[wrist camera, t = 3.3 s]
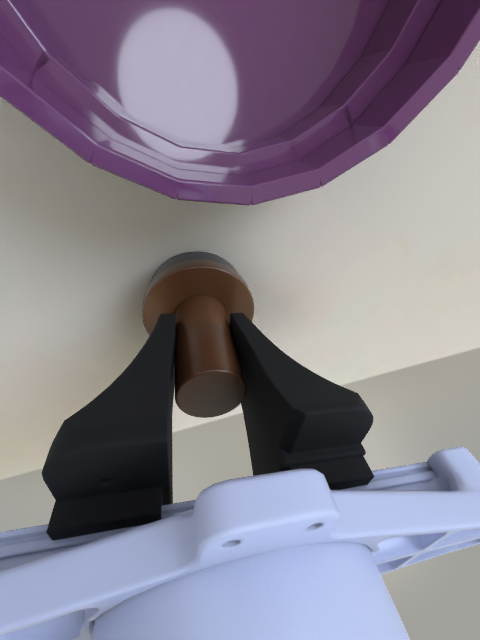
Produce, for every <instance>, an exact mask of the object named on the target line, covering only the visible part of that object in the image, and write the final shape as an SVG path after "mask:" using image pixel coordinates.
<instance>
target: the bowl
mask: <svg viewBox="0 0 480 640" xmlns="http://www.w3.org/2000/svg"><path fill="white" fill-rule="evenodd" d="M479 41H480V0H0V97H2V98H3V99H4V100H6V101H7V102H8V103H10V104H11V105H12V106H14V107H15V108H16V109H18V110H19V111H20V112H21V113H23V114H24V115H25V116H27V117H28V118H29V119H31V120H32V121H33V122H35V123H36V124H37V125H39V126H40V127H41V128H43V129H44V130H45V131H47V132H48V133H49V134H51V135H52V136H53V137H55V138H56V139H57V140H59V141H60V142H61V143H63V144H64V145H65V146H67V147H68V148H69V149H71V150H72V151H73V152H74V153H76V154H77V155H78V156H80V157H81V158H82V159H84V160H85V161H86V162H88V163H91V164H92V165H93V166H95V167H98V168H100V169H103V170H105V171H107V172H110V173H112V174H115V175H117V176H120V177H122V178H124V179H127V180H129V181H132V182H134V183H137V184H139V185H141V186H144V187H146V188H149V189H151V190H153V191H156V192H158V193H161V194H163V195H166V196H168V197H170V198H173V199H178V200H185V201H198V202H211V203H224V204H237V205H255V204H259V203H263V202H267V201H271V200H274V199H278V198H282V197H286V196H290V195H293V194H297V193H301V192H305V191H309V190H312V189H316V188H319V187H320V186H324V185H325V184H327V183H328V182H330V181H332V180H333V179H335V178H336V177H338V176H339V175H341V174H343V173H344V172H346V171H347V170H349V169H351V168H352V167H354V166H355V165H357V164H359V163H360V162H362V161H363V160H365V159H367V158H368V157H370V156H371V155H373V154H375V153H376V152H378V151H379V150H381V149H382V148H384V147H386V146H387V145H388V144H390V143H391V142H392V141H393V140H394V139H395V138H396V137H397V136H398V135H399V134H400V133H401V132H402V131H403V130H404V129H405V128H406V127H407V125H408V124H409V123H410V122H411V121H412V120H413V119H414V118H415V117H416V116H417V115H418V114H419V113H420V112H421V111H422V110H423V109H424V108H425V107H426V106H427V105H428V104H429V103H430V102H431V101H432V100H433V99H434V97H435V96H436V95H437V94H438V93H439V92H440V91H441V90H442V89H443V88H444V87H445V86H446V85H447V84H448V83H449V82H450V81H451V80H452V79H453V78H454V77H455V76H456V75H457V74H458V72H459V70H460V69H461V68H462V67H463V65H464V64H465V62H466V60H467V59H468V57H469V56H470V54H471V53H472V51H473V50H474V48H475V47H476V45H477V44H478V42H479Z"/></svg>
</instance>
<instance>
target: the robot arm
mask: <svg viewBox="0 0 480 640" xmlns="http://www.w3.org/2000/svg"><path fill="white" fill-rule="evenodd" d="M229 325H230V329H231V333H232V336H233V340H234V344H235V347H236V351H237V354H238V358H239V362H240V365H241V369H242V373H243V376H244V380H245V384H246V394H245V397H244V399H243V401H242V402H241V405H242V409H243V414H244V420H245V425H246V431H247V436H248V443H249V448H250V456H251V462H252V469H253V476H249V477H242V478H236V479H230V480H226V481H222V482H219V483H215V484H213V485H211V486H210V487H208V488H206V489H204V490H203V491H202V492H201V493H200V494H199V496H198V497H197V499H196V500H193V501H187V502H181V503H174V504H173V496H172V495H173V492H172V407H173V396H174V386H175V341H176V331H175V314H161V315H160V316H159V317H158V320H157V323H156V325H155V327H154V329H153V331H152V333H151V335H150V336H149V338H148V340H147V341H146V343H145V345H144V346H143V347H142V349H141V350H140V352H139V353H138V355H137V356H136V357H135V359H134V360H133V361H132V362H131V364H130V365H129V366H128V367H127V368H126V369H125V371H124V372H123V373H122V374H121V375H120V376H119V377H118V378H117V379H116V380H115V381H114V382H113V383H112V384H111V385H110V386H109V387H108V388H107V389H105V390H104V391H103V392H102V393H101V394H100V395H98V396H97V397H96V398H95V399H94V400H93V401H91V402H90V403H89V404H88V405H86V406H85V407H83V408H82V409H81V410H79V411H78V412H76V413H75V414H74V415H72V416H71V417H69V418H68V419H66V420H65V421H64V422H63V424H62V426H61V428H60V429H59V431H58V433H57V435H56V437H55V439H54V441H53V443H52V445H51V447H50V450H49V453H48V456H47V459H46V462H45V465H44V467H43V471H42V476H43V480H44V481H45V483H46V485H47V486H48V488H49V490H50V491H51V493H52V495H53V496H54V498H55V499H56V502H55V505H54V508H53V512H52V515H51V518H50V522H49V524H47V525H41V526H35V527H29V528H23V529H17V530H10V531H5V532H0V640H410V638H409V636H408V634H407V631H406V629H405V627H404V625H403V623H402V621H401V619H400V616H399V614H398V612H397V609H396V607H395V605H394V603H393V601H392V598H391V597H390V594H389V592H388V590H387V588H386V586H385V584H384V581H383V579H382V577H381V575H382V574H385V573H387V572H391V571H394V570H397V569H400V568H402V567H406V566H409V565H412V564H415V563H418V562H421V561H424V560H427V559H430V558H433V557H437V556H440V555H443V554H446V553H450V552H453V551H456V550H459V549H464V548H467V547H471V546H474V545H478V544H480V464H479V462H478V461H477V460H476V459H475V458H474V457H473V455H472V454H470V452H469V451H468V450H467V449H466V448H465V447H462V446H461V447H456V448H449V449H443V450H440V451H437V452H435V453H434V454H433V455H432V456H431V457H430V458H429V459H428V461H427V462H423V463H417V464H410V465H404V466H398V467H392V468H386V469H380V470H374V471H371V469H370V468H369V466H368V464H367V462H366V460H365V459H364V457H363V455H365V450H364V448H363V446H362V444H361V442H362V440H363V439H364V437H365V436H366V434H367V433H368V431H369V430H370V428H371V426H372V423H373V415H372V413H371V412H370V410H369V409H368V407H367V406H366V404H365V403H364V401H363V400H362V398H361V397H360V396H359V394H358V393H355V392H353V391H351V390H348V389H346V388H344V387H341V386H339V385H337V384H335V383H332V382H330V381H328V380H326V379H324V378H322V377H321V376H319V375H317V374H315V373H313V372H312V371H310V370H308V369H307V368H305V367H303V366H302V365H300V364H299V363H297V362H296V361H294V360H293V359H292V358H290V357H289V356H288V355H286V354H285V353H284V352H282V351H281V350H280V349H279V348H278V347H277V346H275V345H274V344H273V343H272V342H271V341H270V340H269V339H268V338H267V337H266V336H265V335H264V334H263V333H262V332H261V331H260V330H259V329H258V328H257V327H256V326H255V325H254V324H253V323H252V322H251V321H250V320H249V319H248V318H247V316H246V315H245V314H244V313H231V314H230V323H229Z"/></svg>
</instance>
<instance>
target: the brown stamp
mask: <svg viewBox="0 0 480 640" xmlns="http://www.w3.org/2000/svg"><path fill="white" fill-rule="evenodd" d="M231 313H244V314H245V315H246V316H247V318H248V319H249V320H250V321H251V322H252V319H253V315H254V303H253V298H252V295H251V293H250V291H249V288H248V286H247V284H246V283H245V281H244V280H243V278H242V277H241V276H240V275H239V274H238V273H237V271H236V270H235V269H234V267H233V266H232V265H231V264H230V263H228V262H227V261H226V260H224V259H222V258H221V257H219V256H216V255H214V254H210V253H205V252H189V253H184V254H180V255H178V256H175V257H173V258H171V259H169V260H168V261H167V262H165V263H164V264H163V265H162V266H161V267H160V268H159V269H158V270H157V271H156V273H155V274H154V276H153V278H152V281H151V284H150V285H149V287H148V289H147V291H146V294H145V297H144V302H143V309H142V317H143V323H144V326H145V328H146V330H147V332H148V334H149V335H151V333H152V331H153V329H154V327H155V325H156V323H157V320H158V317H159V316H160V315H161V314H175V331H176V341H175V401H176V403H177V405H178V407H179V408H180V409H181V410H182V411H183V412H185V413H186V414H188V415H191V416H195V417H204V418H206V417H215V416H219V415H223V414H225V413H227V412H230V411H231V410H233V409H234V408H236V407H237V406H238V405H239V404H240V403H241V402H242V401H243V399H244V397H245V394H246V384H245V380H244V376H243V373H242V369H241V365H240V362H239V358H238V354H237V351H236V347H235V344H234V340H233V336H232V333H231V329H230V325H229V323H230V314H231Z"/></svg>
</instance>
